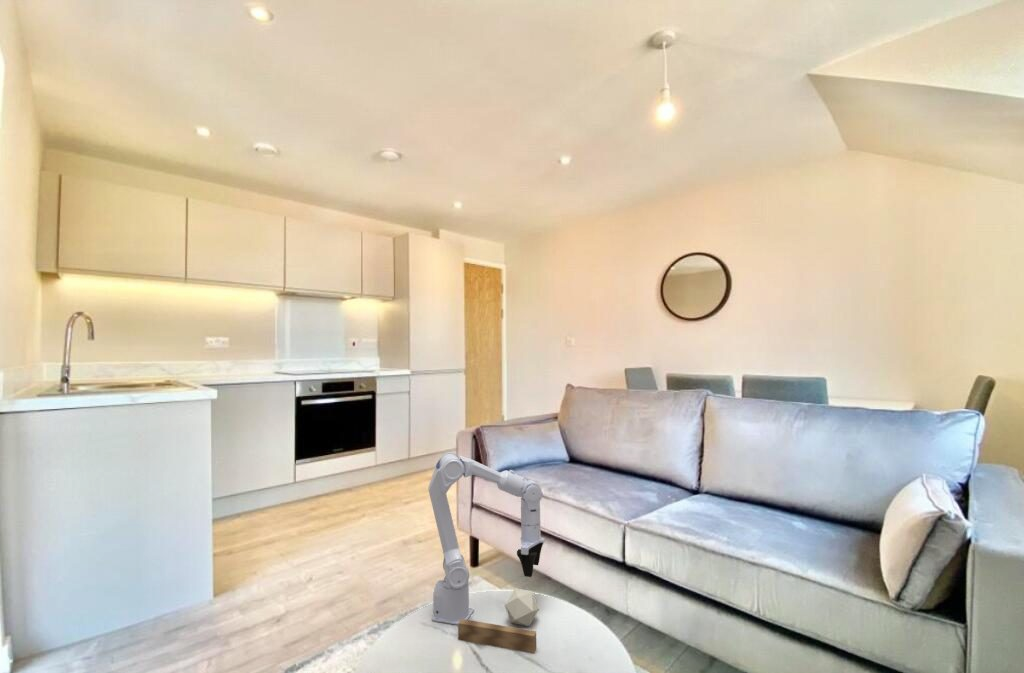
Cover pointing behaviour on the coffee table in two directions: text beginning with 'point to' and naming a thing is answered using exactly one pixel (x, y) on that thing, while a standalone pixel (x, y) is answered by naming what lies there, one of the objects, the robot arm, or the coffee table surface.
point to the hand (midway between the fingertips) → (531, 570)
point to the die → (521, 607)
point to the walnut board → (497, 635)
